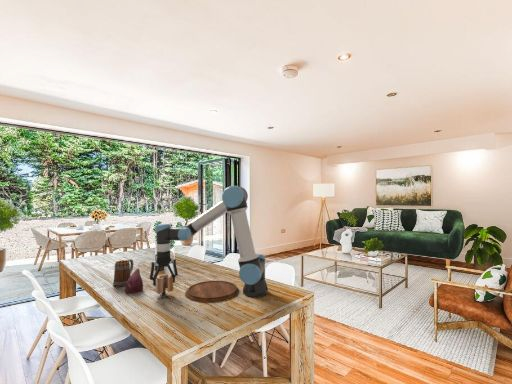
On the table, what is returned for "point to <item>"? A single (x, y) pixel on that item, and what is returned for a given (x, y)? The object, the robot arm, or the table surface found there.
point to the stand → (164, 288)
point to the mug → (122, 272)
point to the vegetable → (134, 283)
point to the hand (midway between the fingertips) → (164, 289)
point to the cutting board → (211, 291)
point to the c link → (168, 283)
